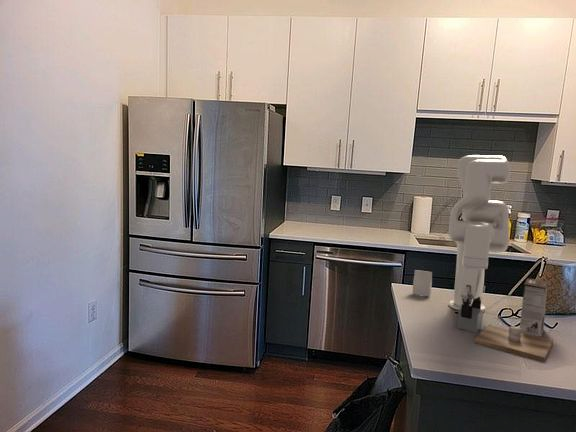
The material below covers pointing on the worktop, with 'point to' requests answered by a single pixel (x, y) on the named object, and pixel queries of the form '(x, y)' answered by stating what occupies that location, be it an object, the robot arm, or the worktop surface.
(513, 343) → the dock
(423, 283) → the grey rectangular block
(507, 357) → the worktop surface
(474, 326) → the grey cube
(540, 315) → the coffee box
